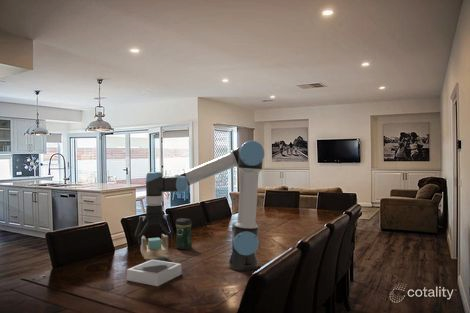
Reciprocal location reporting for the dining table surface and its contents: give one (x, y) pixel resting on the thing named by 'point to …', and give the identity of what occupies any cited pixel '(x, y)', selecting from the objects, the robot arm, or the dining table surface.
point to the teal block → (154, 243)
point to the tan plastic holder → (155, 252)
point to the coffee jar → (183, 233)
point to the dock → (154, 272)
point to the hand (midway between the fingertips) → (154, 250)
